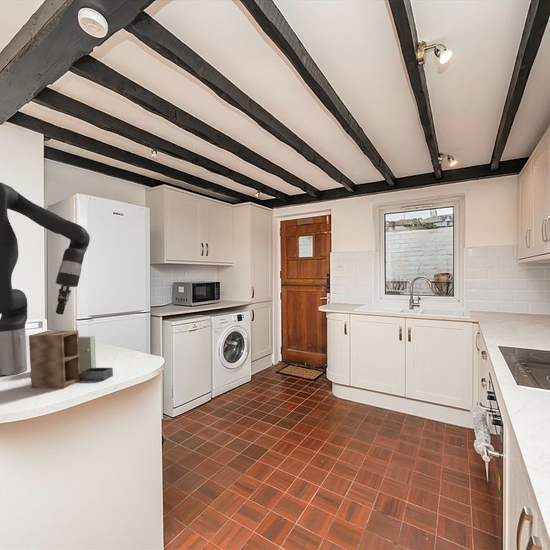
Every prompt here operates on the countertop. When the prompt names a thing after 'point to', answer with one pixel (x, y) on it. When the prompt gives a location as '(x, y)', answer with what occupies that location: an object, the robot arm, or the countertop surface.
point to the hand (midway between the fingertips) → (59, 313)
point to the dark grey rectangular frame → (96, 374)
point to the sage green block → (87, 352)
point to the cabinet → (54, 359)
